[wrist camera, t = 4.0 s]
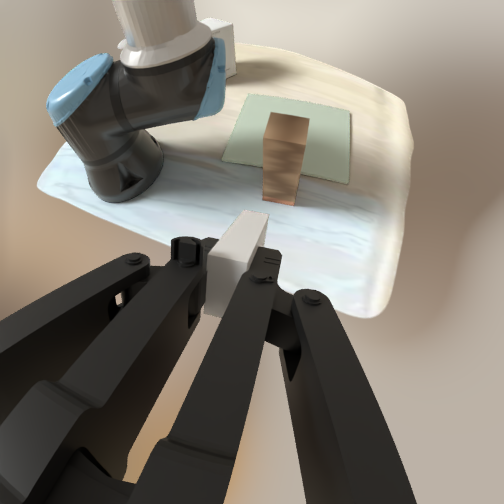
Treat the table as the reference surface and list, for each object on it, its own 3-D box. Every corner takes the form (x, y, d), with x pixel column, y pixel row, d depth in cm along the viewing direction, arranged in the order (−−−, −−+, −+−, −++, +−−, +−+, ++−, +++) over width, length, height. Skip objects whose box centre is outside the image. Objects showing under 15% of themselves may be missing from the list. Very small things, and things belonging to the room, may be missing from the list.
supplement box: (207, 88, 55) (198, 35, 41) (187, 77, 57) (176, 28, 44) (238, 74, 57) (234, 22, 43) (216, 63, 60) (210, 16, 46)
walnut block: (262, 200, 43) (263, 137, 30) (268, 175, 45) (270, 111, 32) (293, 206, 43) (305, 145, 30) (298, 180, 44) (309, 118, 31)
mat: (222, 161, 46) (221, 159, 46) (248, 95, 53) (248, 93, 53) (347, 184, 44) (348, 182, 43) (348, 112, 51) (349, 110, 50)
